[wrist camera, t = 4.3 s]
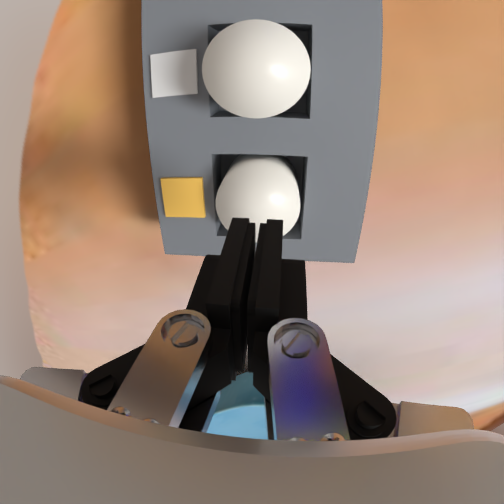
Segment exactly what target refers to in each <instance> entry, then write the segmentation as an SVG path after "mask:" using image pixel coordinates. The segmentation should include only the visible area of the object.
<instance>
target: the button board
mask: <svg viewBox="0 0 504 504" xmlns="http://www.w3.org/2000/svg"><path fill="white" fill-rule="evenodd" d="M253 19H260V20H268V21H272V22H275V23H278V24H280V25H282V26H284V27H286V28H287V29H289V30H290V31H292V32H293V33H294V34H295V35H296V36H297V37H298V38H299V39H300V40H301V42H302V43H303V45H304V46H305V48H306V50H307V53H308V56H309V59H310V68H311V72H310V79H309V83H308V85H307V88H306V90H305V92H304V93H303V95H302V96H301V98H300V99H299V100H298V101H297V102H296V103H295V104H294V105H293V106H292V107H290V108H289V109H288V110H286V111H284V112H282V113H280V114H278V115H275V116H271V117H267V118H246V117H241V116H238V115H235V114H233V113H231V112H229V111H227V110H225V109H224V108H222V107H221V106H220V105H219V104H218V103H217V102H216V101H215V100H214V99H213V98H212V97H211V95H210V94H209V92H208V90H207V89H206V86H205V84H204V80H203V76H202V62H203V57H204V54H205V51H206V49H207V47H208V45H209V44H210V42H211V41H212V39H213V38H214V37H215V36H216V35H217V34H218V33H219V32H221V31H222V30H223V29H225V28H226V27H228V26H230V25H232V24H234V23H237V22H240V21H245V20H253ZM382 32H383V17H382V0H142V63H143V82H144V97H145V110H146V122H147V132H148V142H149V151H150V159H151V167H152V175H153V182H154V190H155V196H156V203H157V210H158V216H159V222H160V228H161V234H162V239H163V245H164V250H165V254H174V255H194V256H206V255H207V254H210V255H221V251H222V248H223V245H224V242H225V239H226V236H227V233H228V230H227V229H226V228H225V227H224V225H223V224H222V223H221V221H220V219H219V217H218V215H217V211H216V195H217V192H218V189H219V187H220V185H221V183H222V181H223V179H224V177H225V175H226V173H227V171H228V169H229V167H230V165H231V164H232V162H233V161H234V160H235V159H236V158H237V157H238V156H239V155H241V154H259V155H283V156H284V157H285V158H287V159H288V160H289V162H290V163H291V164H292V166H293V167H294V170H295V172H296V176H297V182H298V190H299V197H300V213H299V217H298V219H297V221H296V223H295V225H294V226H293V227H292V229H291V230H290V231H289V232H288V233H286V234H285V235H284V236H283V240H282V259H296V260H305V261H320V262H343V263H354V261H355V257H356V252H357V248H358V243H359V238H360V233H361V228H362V223H363V218H364V212H365V207H366V201H367V195H368V189H369V183H370V176H371V170H372V162H373V155H374V147H375V139H376V130H377V121H378V110H379V99H380V85H381V67H382ZM256 246H257V242H256ZM255 252H256V250H255Z"/></svg>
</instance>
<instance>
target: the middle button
mask: <svg viewBox="0 0 504 504" xmlns="http://www.w3.org/2000/svg"><path fill="white" fill-rule="evenodd" d="M310 72H311V68H310V59H309V56H308V53H307V50H306V48H305V46H304V45H303V43H302V42H301V40H300V39H299V38H298V37H297V36H296V35H295V34H294V33H293V32H292V31H290V30H289V29H287V28H286V27H284V26H282V25H280V24H278V23H275V22H272V21H268V20H260V19H253V20H245V21H240V22H237V23H234V24H232V25H230V26H228V27H226V28H225V29H223V30H222V31H221V32H219V33H218V34H217V35H216V36H215V37H214V38H213V39H212V41H211V42H210V44H209V45H208V47H207V49H206V51H205V54H204V57H203V62H202V76H203V80H204V84H205V86H206V89H207V90H208V92H209V94H210V95H211V97H212V98H213V99H214V100H215V101H216V102H217V103H218V104H219V105H220V106H221V107H222V108H224V109H225V110H227V111H229V112H231V113H233V114H235V115H238V116H241V117H246V118H267V117H271V116H275V115H278V114H280V113H282V112H284V111H286V110H288V109H289V108H290V107H292V106H293V105H294V104H295V103H296V102H297V101H298V100H299V99H300V98H301V96H302V95H303V93H304V92H305V90H306V88H307V85H308V83H309V79H310Z"/></svg>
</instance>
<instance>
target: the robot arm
mask: <svg viewBox="0 0 504 504" xmlns="http://www.w3.org/2000/svg"><path fill="white" fill-rule="evenodd" d="M282 240H283V220H276V219H267V222H266V223H260V227H259V233H258V240H257V246H256V226H255V223H250V221H249V218H234V217H233V218H232V220H231V223H230V226H229V229H228V233H227V236H226V239H225V242H224V245H223V248H222V251H221V255H210V254H207V255H206V256H205V258H204V261H203V264H202V266H201V269H200V272H199V275H198V277H197V280H196V283H195V285H194V288H193V291H192V294H191V297H190V299H189V302H188V305H187V308H186V309H184V310H177V311H174V312H171V313H169V314H167V315H166V316H164V317H163V318H162V319H161V320H160V321H159V323H158V324H157V325H156V327H155V329H154V330H153V332H152V334H151V335H150V337H149V339H148V340H147V342H146V344H144V345H142V346H140V347H138V348H136V349H134V350H132V351H130V352H128V353H126V354H124V355H122V356H120V357H118V358H116V359H114V360H112V361H110V362H108V363H106V364H104V365H102V366H100V367H98V368H96V369H94V370H93V371H91V372H90V373H86V372H85V371H84V370H73V369H57V368H44V367H33V368H30V369H28V370H26V371H25V373H23V374H22V376H21V378H20V379H16V378H12V377H8V376H0V504H504V436H503V435H500V434H497V433H494V432H490V431H484V430H474V426H473V420H472V418H471V417H470V415H469V413H467V412H466V411H465V410H464V409H461V408H458V407H448V406H437V405H428V404H419V403H411V402H404V401H401V403H400V404H395V403H391V402H390V401H389V400H388V399H387V398H386V397H385V396H384V395H382V394H381V393H380V392H378V391H377V390H376V389H375V388H373V387H372V386H371V385H369V384H368V383H367V382H365V381H364V380H363V379H362V378H360V377H359V376H358V375H356V374H355V373H354V372H353V371H351V370H350V369H349V368H347V367H346V366H345V365H344V364H342V363H341V362H340V361H339V360H337V359H336V358H335V357H333V356H332V355H331V354H330V351H329V347H328V344H327V340H326V337H325V334H324V332H323V330H322V329H321V328H320V327H319V326H318V325H316V324H315V323H313V322H311V321H309V320H307V293H306V272H305V260H296V259H282ZM255 250H256V252H255ZM247 344H248V372H249V373H253V386H254V387H255V388H256V389H257V390H258V391H259V392H260V393H261V394H262V395H263V396H264V407H265V420H266V433H267V440H266V439H253V438H243V437H233V436H225V435H218V434H210V433H207V430H208V428H209V425H210V422H211V420H212V417H213V415H214V412H215V409H216V407H217V404H218V401H219V399H220V396H221V391H222V389H223V388H225V387H226V386H228V385H230V384H231V382H232V380H233V381H236V375H237V371H238V372H243V371H244V365H245V358H246V351H247Z"/></svg>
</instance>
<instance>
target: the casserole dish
mask: <svg viewBox="0 0 504 504" xmlns="http://www.w3.org/2000/svg"><path fill="white" fill-rule="evenodd" d="M207 433H210V434H218V435H225V436H233V437H243V438H253V439H266V440H267V433H266V420H265V407H264V396H263V395H262V394H261V393H260V392H259V391H258V390H257V389H256V388H255V387H254V386H253V373H249V372H245V373H242V374H240V375H238V376H236V381H233V380H232V382H231V384H230V385H228V386H226V387H225V388H223V389H222V391H221V396H220V399H219V401H218V404H217V407H216V409H215V412H214V415H213V417H212V420H211V422H210V425H209V428H208V430H207Z"/></svg>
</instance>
